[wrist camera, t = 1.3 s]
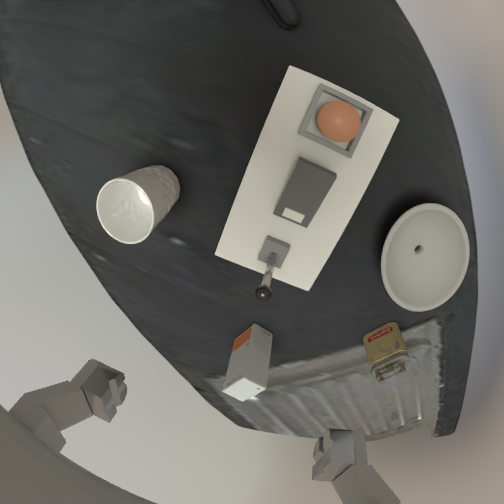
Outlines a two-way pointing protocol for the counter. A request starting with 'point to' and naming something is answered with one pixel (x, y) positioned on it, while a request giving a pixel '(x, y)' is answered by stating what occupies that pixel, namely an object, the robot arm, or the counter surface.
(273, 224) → the switch panel
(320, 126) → the push button
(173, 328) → the counter surface
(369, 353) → the lighter
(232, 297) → the counter surface
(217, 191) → the counter surface
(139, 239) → the white cup
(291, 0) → the can opener
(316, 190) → the block
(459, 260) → the dish
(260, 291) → the toggle lever
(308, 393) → the counter surface
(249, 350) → the skincare box
